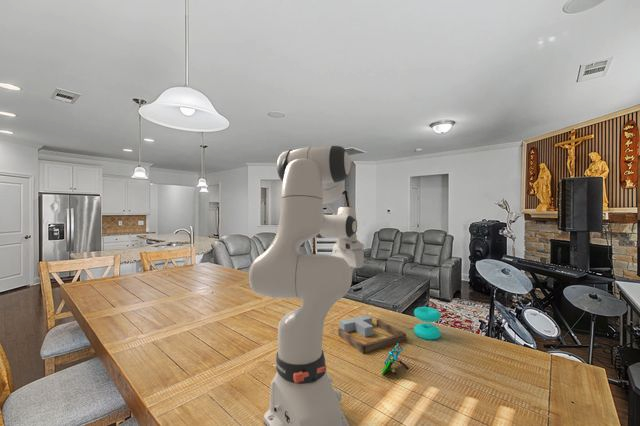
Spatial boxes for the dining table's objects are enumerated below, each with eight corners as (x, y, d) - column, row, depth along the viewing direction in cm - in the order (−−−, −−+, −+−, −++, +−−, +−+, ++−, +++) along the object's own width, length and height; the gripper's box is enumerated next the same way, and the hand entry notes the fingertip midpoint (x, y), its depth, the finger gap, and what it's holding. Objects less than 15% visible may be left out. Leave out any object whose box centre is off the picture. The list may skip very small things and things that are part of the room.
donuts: (446, 312, 108) (425, 316, 105) (446, 338, 108) (425, 342, 105) (428, 304, 117) (408, 307, 114) (428, 328, 118) (408, 331, 114)
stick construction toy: (388, 349, 95) (399, 337, 91) (405, 365, 93) (418, 353, 89) (374, 376, 86) (385, 364, 82) (393, 393, 84) (406, 382, 80)
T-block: (382, 332, 114) (382, 323, 114) (354, 339, 107) (354, 330, 107) (366, 322, 123) (366, 314, 123) (339, 329, 117) (339, 320, 117)
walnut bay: (406, 340, 106) (406, 334, 106) (362, 353, 97) (362, 346, 97) (378, 325, 121) (378, 319, 121) (338, 335, 111) (338, 328, 111)
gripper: (328, 241, 132) (328, 270, 132) (353, 246, 114) (353, 280, 114) (340, 240, 135) (340, 269, 135) (366, 245, 117) (366, 278, 117)
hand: (346, 274), depth 124 cm, fingers open, 4 cm apart
